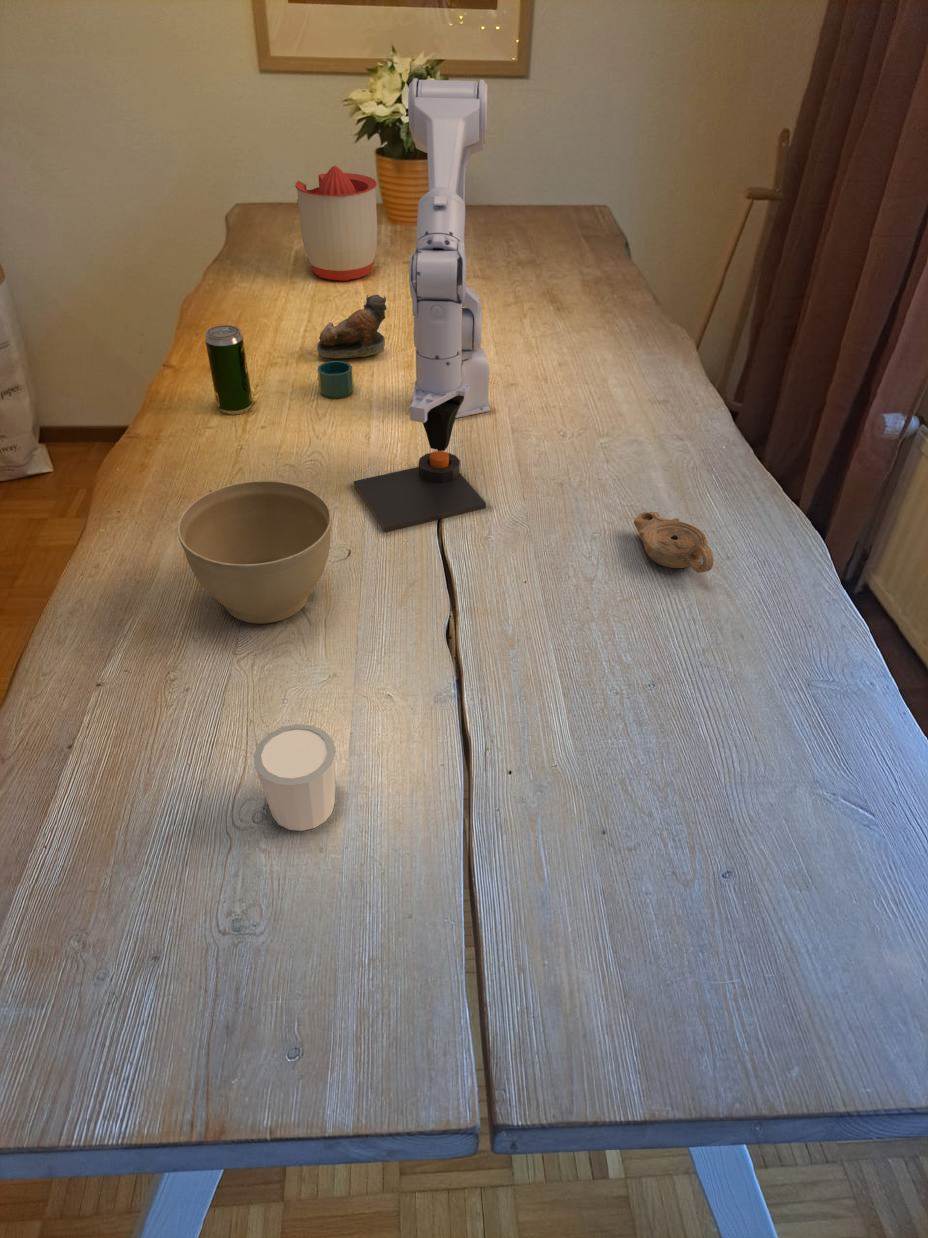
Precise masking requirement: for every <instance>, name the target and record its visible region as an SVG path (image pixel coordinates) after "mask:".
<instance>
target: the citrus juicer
mask: <svg viewBox="0 0 928 1238" xmlns="http://www.w3.org/2000/svg"><path fill="white" fill-rule="evenodd" d="M377 183H378V182H377V181H376V180H375V179H374V178H372V177H370V176H367V175H364V174H359V173H352V172H351V173H350V172H344V171H342V169H341V168H340V167H338V166H337V165H333V166H331V167H330V168H329V169H328V171H327V172H325V173H319V174H318V186H316V187H315V188H312V189H307V184H306V183H304V182H302V181H300V180H297V181H296V182H295V185H294V187H295V189H296V193H297V199H296V204H297V205H298V213H299V223H300V232H301V238H302V239H301V240H302V244H303V247H304V251H305V254H306V257H307V259H308V263H309V265H310V267H311V269H312V271H313V273H314V274H315V275H316V277H317V276H318V277H319V278H322V279H326V280H333V281H340V282H348V281H349V280H355V279H361V278H362V277H365V276H367V275H369V274H370V272H371V271H372V268H373V266H374V262H375V257H376V252H377V245H378V244H377V243H378V214H377V212H378V211H377V194H376V192H377V191H376V187H377V185H378V184H377Z"/></svg>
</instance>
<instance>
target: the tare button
mask: <svg viewBox="0 0 928 1238" xmlns="http://www.w3.org/2000/svg"><path fill="white" fill-rule="evenodd" d="M446 452H447V451H441V450H434V451H432V452H430V453H431V454H430V466H432V467H434V468H444V467H447V466H448V465H449V455H448V453H449V452H447V453H446Z"/></svg>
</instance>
